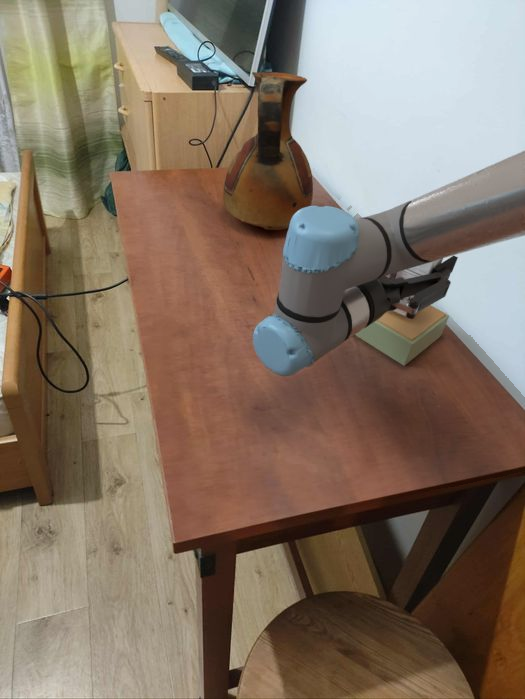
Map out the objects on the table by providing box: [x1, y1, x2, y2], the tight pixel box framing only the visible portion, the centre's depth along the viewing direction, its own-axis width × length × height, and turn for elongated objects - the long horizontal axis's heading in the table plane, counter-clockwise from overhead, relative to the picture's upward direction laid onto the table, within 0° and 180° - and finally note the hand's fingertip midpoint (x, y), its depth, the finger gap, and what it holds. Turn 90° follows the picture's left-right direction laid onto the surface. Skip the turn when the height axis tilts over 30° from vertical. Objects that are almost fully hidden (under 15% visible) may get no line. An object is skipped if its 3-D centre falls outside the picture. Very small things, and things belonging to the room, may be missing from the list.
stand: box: [354, 304, 450, 367], centre depth 87 cm, size 12×12×5 cm
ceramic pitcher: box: [222, 71, 314, 231], centre depth 107 cm, size 20×20×30 cm
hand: (433, 254), depth 83 cm, fingers closed on syrup box, 6 cm apart
